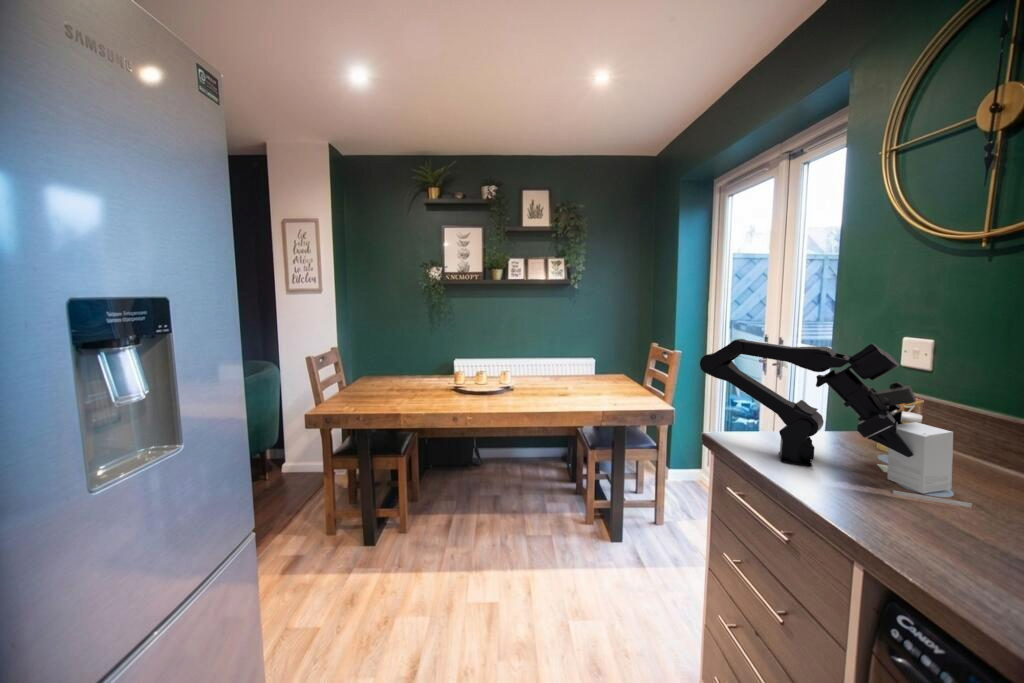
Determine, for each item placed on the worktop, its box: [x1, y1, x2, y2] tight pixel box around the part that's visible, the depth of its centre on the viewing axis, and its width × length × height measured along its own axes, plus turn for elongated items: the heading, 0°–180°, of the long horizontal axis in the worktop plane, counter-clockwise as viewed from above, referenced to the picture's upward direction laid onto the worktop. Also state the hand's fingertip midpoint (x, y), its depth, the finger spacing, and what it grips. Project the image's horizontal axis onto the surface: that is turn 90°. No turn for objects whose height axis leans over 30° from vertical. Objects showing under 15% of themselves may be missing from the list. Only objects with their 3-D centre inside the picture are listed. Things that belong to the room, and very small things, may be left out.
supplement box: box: [887, 422, 954, 494], centre depth 87 cm, size 7×7×13 cm
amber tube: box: [894, 411, 923, 424], centre depth 99 cm, size 5×5×12 cm
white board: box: [876, 454, 973, 509], centre depth 94 cm, size 12×24×1 cm, turn 153°
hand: (912, 450), depth 88 cm, fingers open, 9 cm apart
